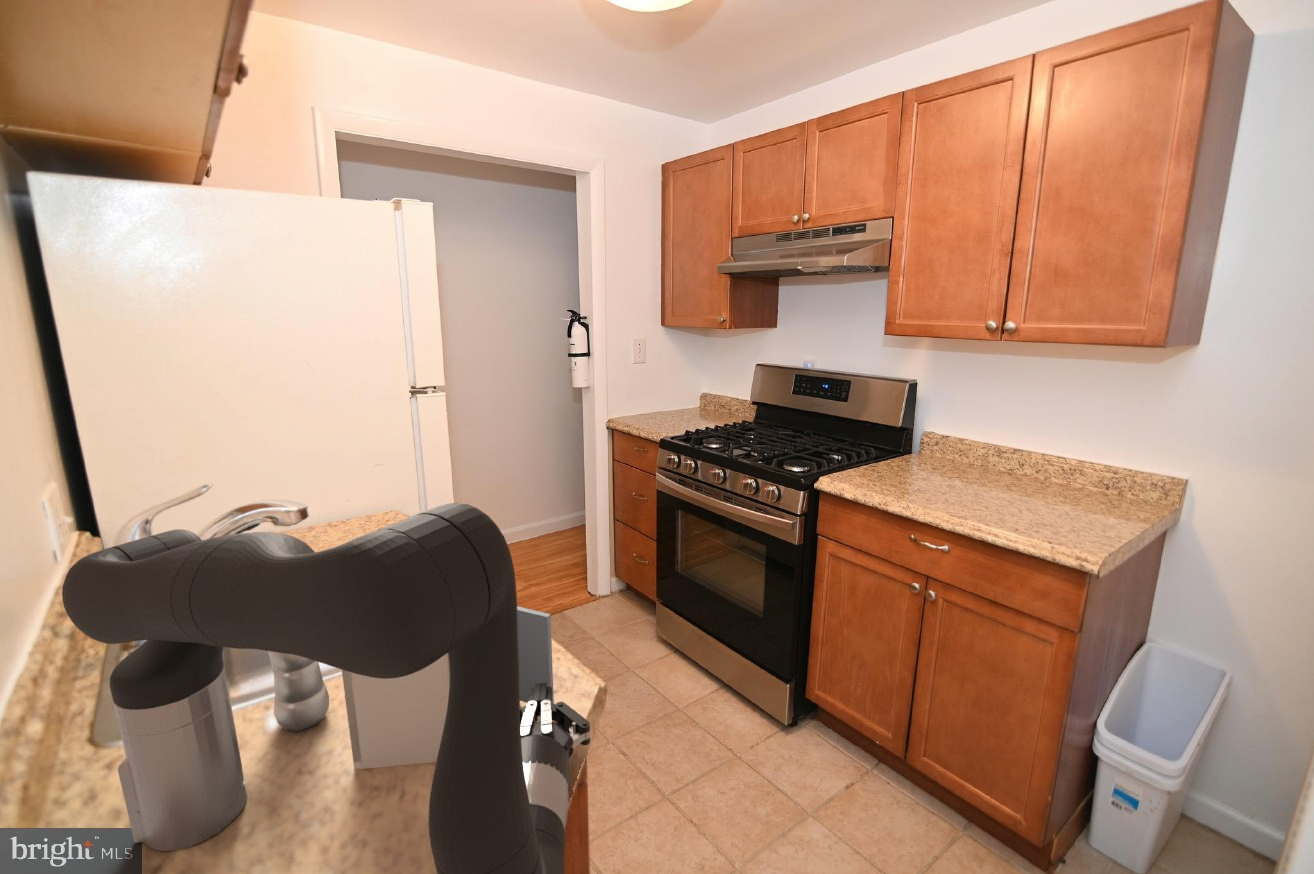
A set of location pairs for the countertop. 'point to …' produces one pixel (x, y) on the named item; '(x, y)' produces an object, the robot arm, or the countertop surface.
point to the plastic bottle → (298, 691)
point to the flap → (534, 650)
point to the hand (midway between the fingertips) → (541, 689)
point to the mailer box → (397, 716)
